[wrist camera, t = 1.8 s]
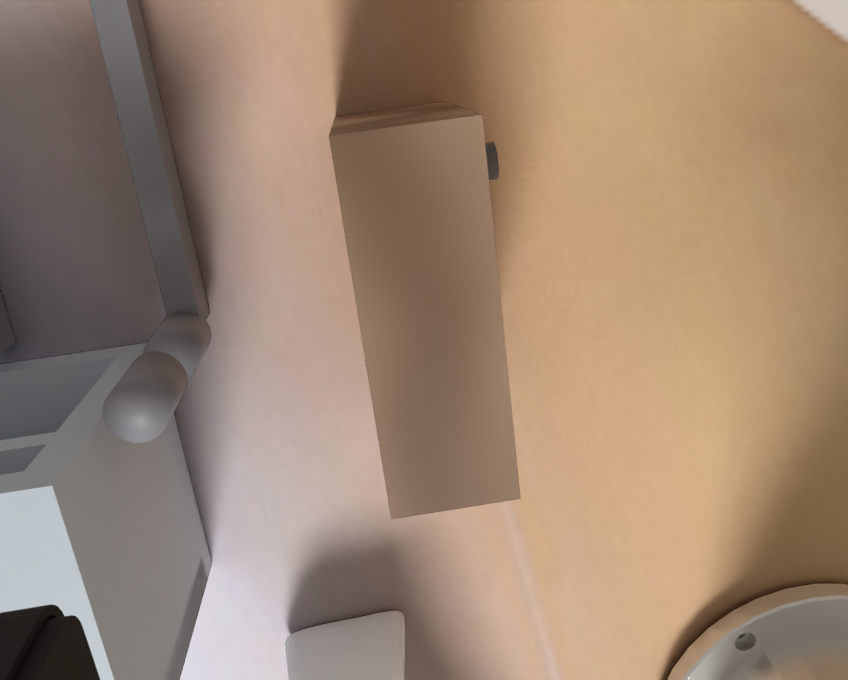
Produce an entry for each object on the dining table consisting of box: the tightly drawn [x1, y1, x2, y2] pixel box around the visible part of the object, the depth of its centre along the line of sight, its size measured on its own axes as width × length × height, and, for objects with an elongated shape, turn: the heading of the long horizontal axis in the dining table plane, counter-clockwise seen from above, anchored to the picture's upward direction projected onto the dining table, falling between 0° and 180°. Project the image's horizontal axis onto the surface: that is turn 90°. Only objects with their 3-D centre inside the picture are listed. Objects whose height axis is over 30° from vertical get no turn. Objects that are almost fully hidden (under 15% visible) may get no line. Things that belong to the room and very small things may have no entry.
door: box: [329, 102, 521, 519], centre depth 23 cm, size 4×10×8 cm, turn 7°
